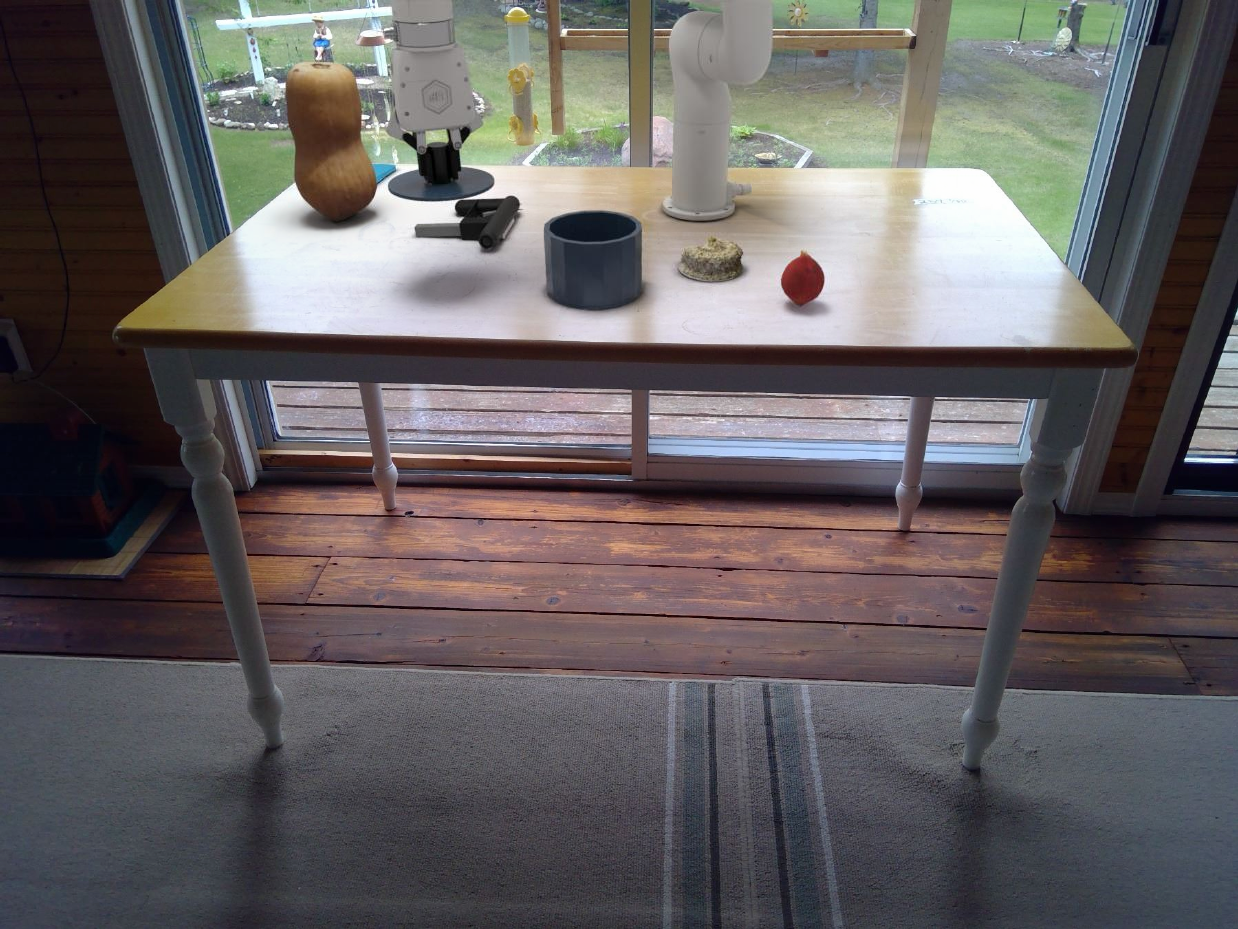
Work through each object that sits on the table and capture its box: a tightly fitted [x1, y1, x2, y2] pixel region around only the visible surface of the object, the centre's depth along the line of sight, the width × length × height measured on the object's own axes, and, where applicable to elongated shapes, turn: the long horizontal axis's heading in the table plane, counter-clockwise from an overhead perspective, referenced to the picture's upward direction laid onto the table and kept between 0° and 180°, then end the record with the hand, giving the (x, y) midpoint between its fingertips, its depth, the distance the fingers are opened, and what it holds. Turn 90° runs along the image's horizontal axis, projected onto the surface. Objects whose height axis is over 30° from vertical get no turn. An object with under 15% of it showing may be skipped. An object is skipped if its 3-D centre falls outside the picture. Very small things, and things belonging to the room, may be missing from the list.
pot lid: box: [387, 141, 496, 203], centre depth 129 cm, size 15×15×6 cm
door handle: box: [414, 195, 525, 250], centre depth 157 cm, size 3×20×16 cm
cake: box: [677, 235, 744, 283], centre depth 140 cm, size 10×10×5 cm
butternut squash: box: [284, 61, 378, 223], centre depth 156 cm, size 14×13×25 cm
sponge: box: [372, 163, 397, 184], centre depth 182 cm, size 2×12×6 cm
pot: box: [543, 209, 643, 311], centre depth 133 cm, size 14×14×10 cm
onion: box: [780, 249, 826, 307], centre depth 128 cm, size 6×6×8 cm
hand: (440, 177), depth 130 cm, fingers closed on pot lid, 2 cm apart
